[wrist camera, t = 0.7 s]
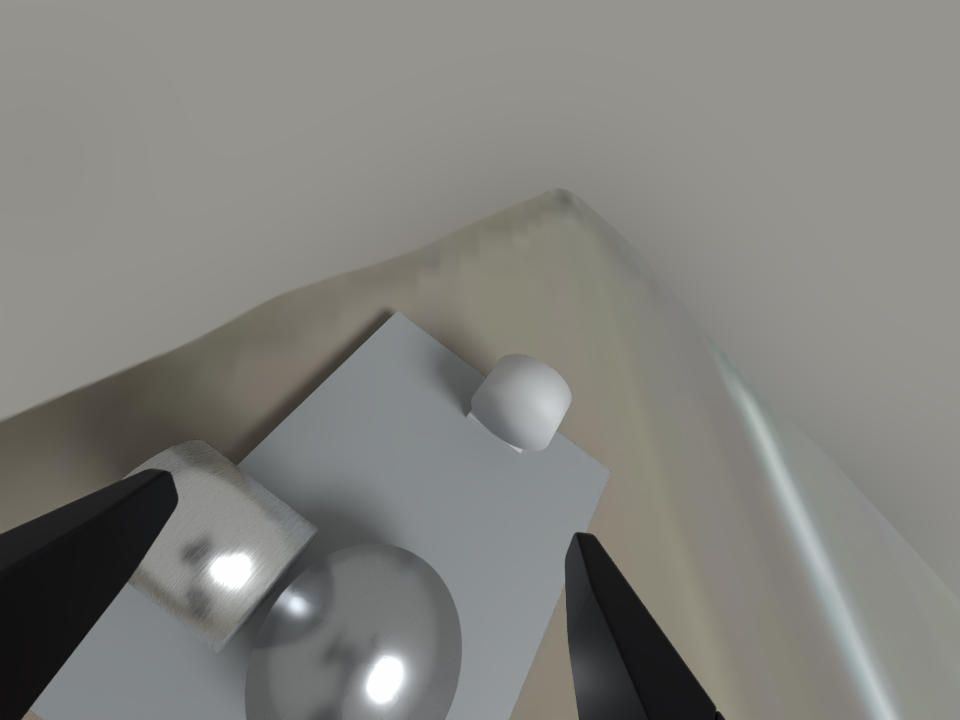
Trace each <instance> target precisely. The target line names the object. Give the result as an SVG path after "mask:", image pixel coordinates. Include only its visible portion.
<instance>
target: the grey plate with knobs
mask: <svg viewBox="0 0 960 720" xmlns="http://www.w3.org/2000/svg"><path fill="white" fill-rule="evenodd" d="M570 403H571V393H570V390H569V387H568V386H567V384H566V382H565V381H564V380H563V378H562V377H561V376H560V375H559V374H558V373H557V372H556V371H555V370H553V369H552V368H551V367H549V366H548V365H546V364H545V363H543V362H541V361H539V360H537V359H535V358H532V357H529V356H526V355H520V354H511V355H507V356H504V357H502V358H501V359H500V360H499V361H498V363H497V364H496V365H495V367H494V368H493V370H492V371H491V372H490V374H489V375H488V376H487V378H486V377H485V376H484V375H482V374H481V373H480V372H478V371H477V370H476V369H474V368H473V367H472V366H470V365H469V364H468V363H466V362H465V361H464V360H462V359H461V358H460V357H458V356H457V355H456V354H454V353H453V352H452V351H450V350H449V349H448V348H446V347H445V346H444V345H442V344H441V343H440V342H438V341H437V340H436V339H434V338H433V337H432V336H430V335H429V334H428V333H426V332H425V331H424V330H422V329H421V328H420V327H418V326H417V325H416V324H414V323H413V322H411V321H410V320H409V319H407V318H406V317H405V316H403V315H402V314H401V313H399V312H398V311H397V312H396V313H395V314H394V315H393V316H392V317H391V318H390V319H389V320H387V321H386V322H385V323H384V324H383V325H382V326H381V327H380V328H379V329H378V330H377V331H376V332H375V333H374V334H373V335H372V336H371V337H370V338H369V339H368V340H367V341H366V342H365V343H364V344H363V345H361V346H360V347H359V348H358V349H357V350H356V351H355V352H354V353H353V354H352V355H351V356H350V357H349V358H348V359H347V360H346V361H345V362H344V363H343V364H342V365H341V366H340V367H339V368H338V369H337V370H336V371H334V372H333V373H332V374H331V375H330V376H329V377H328V378H327V379H326V380H325V381H324V382H323V383H322V384H321V385H320V386H319V387H318V388H317V389H316V390H315V391H314V392H313V393H312V394H311V395H310V396H309V397H307V398H306V399H305V400H304V401H303V402H302V403H301V404H300V405H299V406H298V407H297V408H296V409H295V410H294V411H293V412H292V413H291V414H290V415H289V416H288V417H287V418H286V419H285V420H284V421H283V422H281V423H280V424H279V425H278V426H277V427H276V428H275V429H274V430H273V431H272V432H271V433H270V434H269V435H268V436H267V437H266V438H265V439H264V440H263V441H262V442H261V443H260V444H259V445H258V446H257V447H256V448H254V449H253V450H252V451H251V452H250V453H249V454H248V455H247V456H246V457H245V458H244V459H243V460H242V461H241V462H240V463H239V464H238V465H237V467H239V468H240V469H241V470H242V471H244V472H245V473H246V474H248V475H249V476H250V477H252V478H253V479H254V480H255V481H257V482H258V483H259V484H261V485H262V486H263V487H265V488H266V489H267V490H268V491H270V492H271V493H272V494H274V495H275V496H276V497H278V498H279V499H280V500H281V501H283V502H284V503H285V504H287V505H288V506H289V507H291V508H292V509H293V510H295V511H296V512H297V513H298V514H300V515H301V516H302V517H304V518H305V519H306V520H308V521H309V522H310V523H311V524H313V525H314V526H315V527H317V528H318V529H319V532H318V533H317V535H316V537H315V538H314V540H313V541H312V543H311V544H310V546H309V547H308V548H307V550H306V551H305V553H304V554H303V555H302V557H301V558H300V559H299V561H298V562H297V563H296V564H295V566H294V567H293V568H292V570H291V571H290V572H289V573H288V575H287V576H286V577H285V578H284V580H283V581H282V582H281V583H280V585H279V586H278V587H277V588H276V590H275V591H274V592H273V593H272V594H271V596H270V597H269V598H268V599H267V600H266V602H265V603H264V604H263V605H262V606H261V607H260V609H259V610H258V611H257V612H256V613H255V614H254V616H253V617H252V618H251V619H250V620H249V621H248V623H247V624H246V625H245V626H244V627H243V628H242V629H241V630H240V631H239V633H238V634H237V635H236V636H235V637H234V638H233V639H232V640H231V641H230V642H229V643H228V644H227V645H226V646H225V647H224V648H223V649H222V650H221V651H220V652H218V653H216V652H215V651H214V650H212V649H211V648H210V647H208V646H207V645H206V644H205V643H203V642H202V641H201V640H200V639H198V638H197V637H196V636H194V635H193V634H192V633H191V632H189V631H188V630H187V629H185V628H184V627H183V626H182V625H180V624H179V623H178V622H176V621H175V620H174V619H173V618H171V617H170V616H169V615H168V614H166V613H165V612H164V611H162V610H161V609H160V608H159V607H157V606H156V605H155V604H153V603H152V602H151V601H150V600H148V599H147V598H146V597H144V596H143V595H142V594H141V593H139V592H138V591H137V590H136V589H134V588H133V587H132V586H130V585H129V584H128V583H126V585H125V586H124V587H123V589H122V590H121V591H120V593H119V594H118V595H117V596H116V598H115V599H114V600H113V602H112V603H111V604H110V606H109V607H108V608H107V609H106V611H105V612H104V613H103V615H102V616H101V617H100V618H99V620H98V621H97V622H96V624H95V625H94V626H93V628H92V629H91V630H90V631H89V633H88V634H87V635H86V637H85V638H84V639H83V640H82V642H81V643H80V644H79V646H78V647H77V648H76V650H75V651H74V652H73V653H72V655H71V656H70V657H69V659H68V660H67V661H66V662H65V664H64V665H63V666H62V668H61V669H60V670H59V672H58V673H57V674H56V675H55V677H54V678H53V679H52V681H51V682H50V683H49V684H48V686H47V687H46V688H45V690H44V691H43V692H42V693H41V695H40V696H39V697H38V699H37V700H36V701H35V703H34V704H33V705H32V706H31V708H30V710H31V711H33V712H34V713H35V714H36V715H38V716H39V717H40V718H41V719H43V720H247V719H246V713H245V685H246V675H247V670H248V665H249V660H250V656H251V653H252V650H253V646H254V643H255V640H256V638H257V636H258V633H259V631H260V629H261V626H262V624H263V622H264V620H265V619H266V617H267V615H268V613H269V612H270V610H271V608H272V607H273V605H274V604H275V602H276V601H277V600H278V598H279V597H280V595H281V594H282V593H283V592H284V591H285V589H286V588H287V587H288V586H289V585H290V584H291V583H292V582H293V581H294V580H295V579H296V578H297V577H298V576H299V575H300V574H301V573H302V572H303V571H305V570H306V569H307V568H309V567H310V566H311V565H313V564H314V563H315V562H317V561H319V560H320V559H322V558H324V557H326V556H327V555H329V554H331V553H334V552H336V551H339V550H341V549H344V548H347V547H351V546H354V545H361V544H371V543H380V544H388V545H393V546H397V547H400V548H404V549H406V550H408V551H410V552H412V553H414V554H416V555H417V556H419V557H420V558H422V559H423V560H425V561H426V562H427V563H428V564H429V565H430V566H431V567H433V569H434V570H435V571H436V572H437V573H438V574H439V576H440V577H441V578H442V580H443V581H444V583H445V584H446V586H447V587H448V590H449V592H450V594H451V596H452V598H453V600H454V603H455V606H456V609H457V612H458V617H459V621H460V626H461V636H462V661H461V670H460V676H459V681H458V685H457V690H456V693H455V696H454V699H453V702H452V705H451V708H450V710H449V712H448V715H447V717H446V719H445V720H509V718H510V715H511V713H512V710H513V708H514V706H515V703H516V701H517V698H518V696H519V693H520V691H521V689H522V686H523V684H524V681H525V679H526V676H527V674H528V672H529V669H530V667H531V664H532V662H533V659H534V657H535V654H536V652H537V650H538V647H539V645H540V642H541V640H542V637H543V635H544V633H545V630H546V628H547V625H548V623H549V620H550V618H551V616H552V613H553V611H554V608H555V606H556V603H557V601H558V599H559V596H560V594H561V591H562V589H563V586H564V584H565V556H566V553H567V550H568V548H569V545H570V542H571V540H572V537H573V535H574V533H575V532H583V533H586V531H587V528H588V526H589V523H590V521H591V518H592V516H593V514H594V511H595V509H596V506H597V504H598V501H599V499H600V497H601V494H602V492H603V489H604V487H605V484H606V482H607V480H608V477H609V475H610V472H611V471H610V470H609V469H608V468H606V467H605V466H604V465H602V464H601V463H600V462H598V461H597V460H596V459H594V458H593V457H592V456H590V455H589V454H588V453H586V452H585V451H584V450H582V449H581V448H580V447H578V446H577V445H576V444H574V443H573V442H572V441H570V440H569V439H568V438H566V437H565V436H564V435H562V434H561V433H560V432H558V431H557V428H558V426H559V424H560V422H561V420H562V419H563V417H564V415H565V413H566V411H567V409H568V407H569V406H570Z"/></svg>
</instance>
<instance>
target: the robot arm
mask: <svg viewBox="0 0 960 720" xmlns="http://www.w3.org/2000/svg"><path fill="white" fill-rule="evenodd" d="M178 499H179V497H178V493H177V489H176V486H175V483H174V479H173V476H172V474H171V473H170V472H169V471H167V470H160V469H153V468H151V469H146V470H143V471H141V472H139V473H137V474H134V475H132V476H130V477H128V478H125V479H123V480H121V481H119V482H116V483H114V484H112V485H110V486H107V487H105V488H103V489H101V490H98V491H96V492H94V493H92V494H89V495H87V496H85V497H83V498H80V499H78V500H76V501H74V502H71V503H69V504H67V505H65V506H63V507H60V508H58V509H56V510H54V511H51V512H49V513H47V514H45V515H42V516H40V517H38V518H36V519H33V520H31V521H29V522H27V523H24V524H22V525H20V526H18V527H15V528H13V529H11V530H9V531H6V532H4V533H2V534H0V720H21V719H22V718H23V717H24V715H25V714H26V713H27V712H28V710H29V709H30V708H31V706H32V705H33V704H34V703H35V701H36V700H37V699H38V697H39V696H40V695H41V693H42V692H43V691H44V690H45V688H46V687H47V686H48V684H49V683H50V682H51V681H52V679H53V678H54V677H55V675H56V674H57V673H58V672H59V670H60V669H61V668H62V666H63V665H64V664H65V662H66V661H67V660H68V659H69V657H70V656H71V655H72V653H73V652H74V651H75V650H76V648H77V647H78V646H79V644H80V643H81V642H82V640H83V639H84V638H85V637H86V635H87V634H88V633H89V631H90V630H91V629H92V628H93V626H94V625H95V624H96V622H97V621H98V620H99V618H100V617H101V616H102V615H103V613H104V612H105V611H106V609H107V608H108V607H109V606H110V604H111V603H112V602H113V600H114V599H115V598H116V596H117V595H118V594H119V593H120V591H121V590H122V589H123V587H124V586H125V585H126V583H127V582H128V581H129V579H130V578H131V577H132V575H133V574H134V572H135V571H136V569H137V568H138V566H139V565H140V563H141V562H142V560H143V559H144V557H145V555H146V554H147V552H148V551H149V549H150V548H151V546H152V545H153V543H154V541H155V540H156V538H157V537H158V535H159V534H160V532H161V531H162V529H163V527H164V526H165V524H166V523H167V521H168V520H169V518H170V517H171V515H172V514H173V512H174V510H175V509H176V507H177V504H178ZM565 587H566V610H567V632H568V645H569V653H570V660H571V667H572V674H573V681H574V688H575V695H576V702H577V709H578V716H579V720H725V718H724V717H723V715H722V714H721V713H720V712H719V711H716V706H715V704H714V703H713V702H712V700H711V699H710V697H709V696H708V695H707V693H706V692H705V690H704V689H703V688H702V686H701V685H700V683H699V682H698V680H697V679H696V678H695V676H694V675H693V673H692V672H691V671H690V669H689V668H688V666H687V665H686V664H685V662H684V661H683V659H682V658H681V657H680V655H679V654H678V652H677V651H676V649H675V648H674V647H673V645H672V644H671V642H670V641H669V640H668V638H667V637H666V635H665V634H664V633H663V631H662V630H661V628H660V627H659V625H658V624H657V623H656V621H655V620H654V618H653V617H652V616H651V614H650V613H649V611H648V610H647V609H646V607H645V606H644V604H643V603H642V602H641V600H640V599H639V597H638V596H637V594H636V593H635V592H634V590H633V589H632V587H631V586H630V585H629V583H628V582H627V580H626V579H625V578H624V576H623V575H622V573H621V572H620V570H619V569H618V568H617V566H616V565H615V563H614V562H613V561H612V559H611V558H610V556H609V555H608V554H607V552H606V551H605V549H604V548H603V547H602V545H601V544H600V542H599V541H598V539H597V538H596V537H595V536H594V535H593V534H590V533H583V532H575V533H574V535H573V537H572V540H571V542H570V545H569V548H568V550H567V553H566V556H565Z"/></svg>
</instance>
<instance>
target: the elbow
mask: <svg viewBox="0 0 960 720" xmlns="http://www.w3.org/2000/svg"><path fill="white" fill-rule="evenodd" d="M151 468H153V469H160V470H167V471H169V472H170V473H171V474H172V476H173V479H174V483H175V486H176V489H177V493H178V497H179V499H178V504H177V507H176V509H175V510H174V512H173V514H172V515H171V517H170V518H169V520H168V521H167V523H166V524H165V526H164V527H163V529H162V531H161V532H160V534H159V535H158V537H157V538H156V540H155V541H154V543H153V545H152V546H151V548H150V549H149V551H148V552H147V554H146V555H145V557H144V559H143V560H142V562H141V563H140V565H139V566H138V568H137V569H136V571H135V572H134V574H133V575H132V577H131V578H130V579H129V581H128V582H127V583H128V584H129V585H130V586H132V587H133V588H134V589H136V590H137V591H138V592H139V593H141V594H142V595H143V596H144V597H146V598H147V599H148V600H150V601H151V602H152V603H153V604H155V605H156V606H157V607H159V608H160V609H161V610H162V611H164V612H165V613H166V614H168V615H169V616H170V617H171V618H173V619H174V620H175V621H176V622H178V623H179V624H180V625H182V626H183V627H184V628H185V629H187V630H188V631H189V632H191V633H192V634H193V635H194V636H196V637H197V638H198V639H200V640H201V641H202V642H203V643H205V644H206V645H207V646H208V647H210V648H211V649H212V650H214V651H215V652H216V653H218V652H220V651H221V650H222V649H223V648H224V647H225V646H226V645H227V644H228V643H229V642H230V641H231V640H232V639H233V638H234V637H235V636H236V635H237V634H238V633H239V631H240V630H241V629H242V628H243V627H244V626H245V625H246V624H247V623H248V621H249V620H250V619H251V618H252V617H253V616H254V614H255V613H256V612H257V611H258V610H259V609H260V607H261V606H262V605H263V604H264V603H265V602H266V600H267V599H268V598H269V597H270V596H271V594H272V593H273V592H274V591H275V590H276V588H277V587H278V586H279V585H280V583H281V582H282V581H283V580H284V578H285V577H286V576H287V575H288V573H289V572H290V571H291V570H292V568H293V567H294V566H295V564H296V563H297V562H298V561H299V559H300V558H301V557H302V555H303V554H304V553H305V551H306V550H307V548H308V547H309V546H310V544H311V543H312V541H313V540H314V538H315V537H316V535H317V533H318V532H319V529H318V528H317V527H315V526H314V525H313V524H311V523H310V522H309V521H308V520H306V519H305V518H304V517H302V516H301V515H300V514H298V513H297V512H296V511H295V510H293V509H292V508H291V507H289V506H288V505H287V504H285V503H284V502H283V501H281V500H280V499H279V498H278V497H276V496H275V495H274V494H272V493H271V492H270V491H268V490H267V489H266V488H265V487H263V486H262V485H261V484H259V483H258V482H257V481H255V480H254V479H253V478H252V477H250V476H249V475H248V474H246V473H245V472H244V471H242V470H241V469H240V468H239V467H237V466H236V465H235V464H233V463H232V462H231V461H229V460H228V459H227V458H225V457H224V456H223V455H222V454H220V453H219V452H218V451H216V450H215V449H214V448H212V447H211V446H210V445H209V444H207V443H206V442H204V441H203V440H190V441H186V442H183V443H180V444H177V445H175V446H173V447H170V448H168V449H166V450H164V451H163V452H161V453H159V454H157V455H155V456H154V457H152V458H150V459H149V460H147V461H146V462H144V463H143V464H141V465H140V466H139V467H137V468H136V469H134V470H133V471H132V472H130V473H129V474H128V475H127V476H125V477H124V478H123V479H125V478H128V477H130V476H132V475H134V474H137V473H139V472H141V471H143V470H146V469H151ZM123 479H122V480H123ZM120 481H121V480H120ZM461 661H462V636H461V626H460V621H459V617H458V612H457V609H456V606H455V603H454V600H453V598H452V596H451V594H450V592H449V590H448V587H447V586H446V584H445V583H444V581H443V580H442V578H441V577H440V576H439V574H438V573H437V572H436V571H435V570H434V569H433V567H431V566H430V565H429V564H428V563H427V562H426V561H425V560H423V559H422V558H420V557H419V556H417V555H416V554H414V553H412V552H410V551H408V550H406V549H404V548H400V547H397V546H393V545H388V544H380V543H371V544H361V545H354V546H351V547H347V548H344V549H341V550H339V551H336V552H334V553H331V554H329V555H327V556H326V557H324V558H322V559H320V560H319V561H317V562H315V563H314V564H313V565H311V566H310V567H309V568H307V569H306V570H305V571H303V572H302V573H301V574H300V575H299V576H298V577H297V578H296V579H295V580H294V581H293V582H292V583H291V584H290V585H289V586H288V587H287V588H286V589H285V591H284V592H283V593H282V594H281V595H280V597H279V598H278V600H277V601H276V602H275V604H274V605H273V607H272V608H271V610H270V612H269V613H268V615H267V617H266V619H265V620H264V622H263V624H262V626H261V629H260V631H259V633H258V636H257V638H256V640H255V643H254V646H253V650H252V653H251V656H250V660H249V665H248V670H247V675H246V685H245V713H246V719H247V720H445V719H446V717H447V715H448V712H449V710H450V708H451V705H452V702H453V699H454V696H455V693H456V690H457V685H458V681H459V676H460V670H461Z"/></svg>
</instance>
